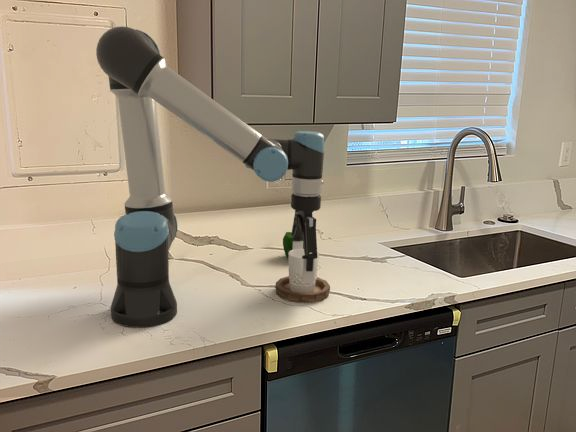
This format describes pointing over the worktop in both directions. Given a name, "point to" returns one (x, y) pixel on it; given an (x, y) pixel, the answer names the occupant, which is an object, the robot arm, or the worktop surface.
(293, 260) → the white cup
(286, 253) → the bell pepper
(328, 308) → the worktop surface
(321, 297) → the ring tray
